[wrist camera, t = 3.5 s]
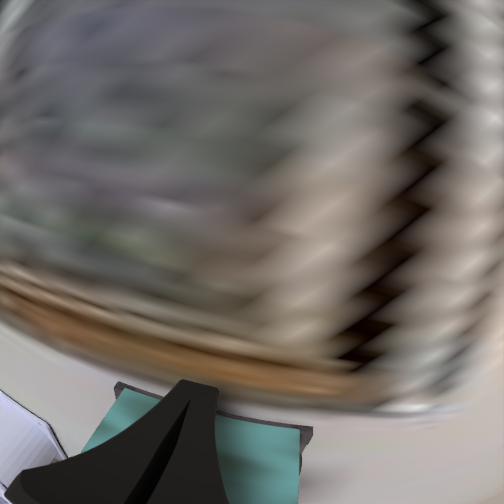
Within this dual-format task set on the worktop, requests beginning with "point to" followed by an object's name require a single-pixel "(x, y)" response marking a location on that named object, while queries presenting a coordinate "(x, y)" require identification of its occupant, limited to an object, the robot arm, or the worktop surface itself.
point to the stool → (229, 452)
